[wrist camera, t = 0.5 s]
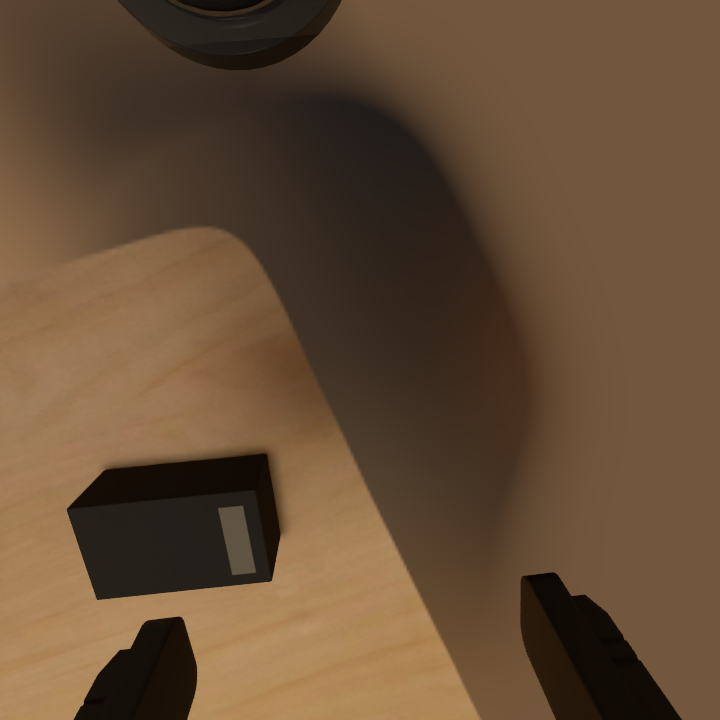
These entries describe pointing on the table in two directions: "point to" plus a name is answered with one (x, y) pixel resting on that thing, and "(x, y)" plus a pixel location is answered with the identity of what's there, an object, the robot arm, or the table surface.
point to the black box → (178, 527)
